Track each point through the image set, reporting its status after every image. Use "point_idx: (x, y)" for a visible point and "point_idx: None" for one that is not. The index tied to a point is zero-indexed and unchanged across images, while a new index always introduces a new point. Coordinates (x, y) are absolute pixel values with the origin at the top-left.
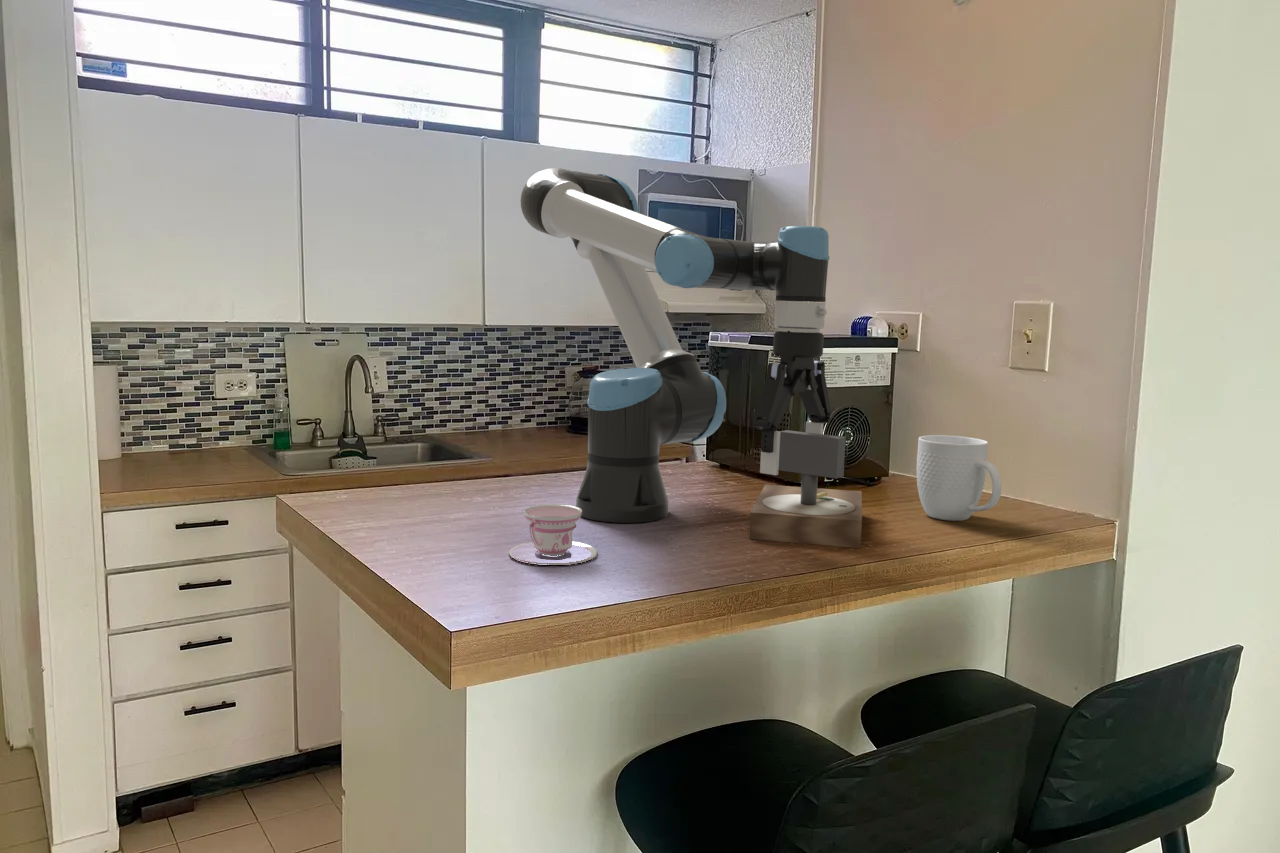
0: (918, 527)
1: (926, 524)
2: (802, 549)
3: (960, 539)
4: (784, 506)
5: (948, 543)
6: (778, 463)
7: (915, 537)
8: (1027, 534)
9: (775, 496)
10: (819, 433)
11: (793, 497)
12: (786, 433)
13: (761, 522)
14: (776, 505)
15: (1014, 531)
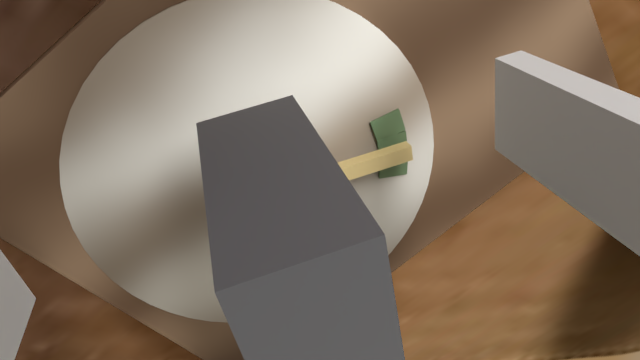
0: (525, 239)
1: (566, 226)
2: (72, 288)
3: (485, 335)
4: (135, 180)
5: (437, 348)
6: (14, 350)
7: (432, 297)
8: (606, 345)
9: (247, 4)
10: (638, 246)
11: (306, 66)
12: (241, 347)
13: None
14: (113, 151)
15: (615, 325)
